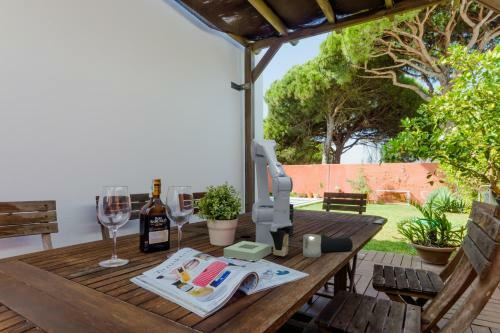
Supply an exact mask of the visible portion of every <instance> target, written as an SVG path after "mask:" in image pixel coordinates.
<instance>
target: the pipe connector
mask: <svg viewBox="0 0 500 333" xmlns="http://www.w3.org/2000/svg"><path fill="white" fill-rule="evenodd" d="M319 235H320V236H321V254H322V253H323V254H324V253H333V252H335V253H336V252H347V251H352V249H353V246H354V245H353V244H354V243H353V240H352V239H351V238H350V237H336V238H332V237H331V236H328V235H326V234H324V233H322V234H319Z"/></svg>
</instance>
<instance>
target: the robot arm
mask: <svg viewBox="0 0 500 333" xmlns="http://www.w3.org/2000/svg"><path fill="white" fill-rule="evenodd" d="M276 151H277V142H276V140H275V139H265V138H264V139H259V138H253V139H252V140H251V143H250V156H251V160H252V161H253V162H254V163H255V173H256V175H255V176H256V185H257V186H256V188H257V199H258V200H256V201H255V202H254V203H253V204H252V208H251V219H252V222H253V223H254V224H255V243H262V244H270V245H271V248H273V246H275V250H280V251H281V250H282V245H283V239H284V235H285V234H288V239H289V238H290V237H289V235H290V233H291V231H292V227H288V226H292V223H291V220H289V210H290V204H291V203H290V201H291V200H290V199H291V196H290V195H291V192H292V191H293V189H294V182H293V178H292V177H291V176H289V175H288V174H287V173H286V171H285V169H284V166H283V164H282V163H281V162H279V161H278V158H277V155H276ZM269 176H270V179H271V184H270V185H269V183H270V182H269ZM270 188H271V192H270ZM270 193H272V196H270ZM271 197H272V198H273V200H272V199H271Z"/></svg>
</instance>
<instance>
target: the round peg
mask: <svg viewBox="0 0 500 333" xmlns="http://www.w3.org/2000/svg"><path fill="white" fill-rule="evenodd" d="M320 235H321V234H313V233H312V234H311V233H309V234H308V233H305V234H303V235H302V238H303V239H302V255H303V256H304V257H306V258H312V259H314V258H320V257H322V253H321V236H320Z"/></svg>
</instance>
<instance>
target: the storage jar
mask: <svg viewBox="0 0 500 333" xmlns="http://www.w3.org/2000/svg"><path fill="white" fill-rule="evenodd" d="M294 213H295V212H294V204H293V203H290V210H289V220H291V223H292V226H288V227H292V231H291V233H290V235H289V238H293V237H294Z"/></svg>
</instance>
